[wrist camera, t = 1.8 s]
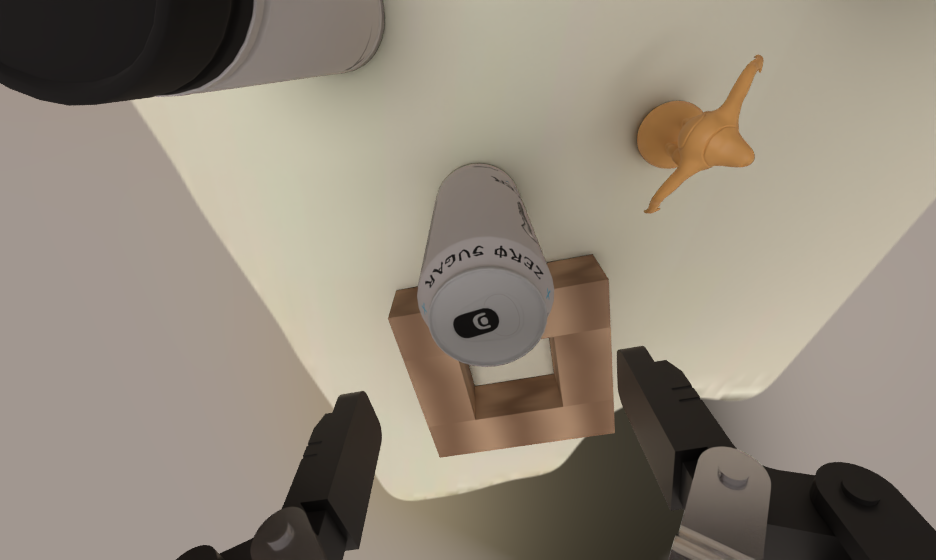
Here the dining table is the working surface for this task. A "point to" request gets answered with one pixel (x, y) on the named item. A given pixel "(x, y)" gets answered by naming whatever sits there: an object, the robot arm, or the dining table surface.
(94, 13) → the travel mug
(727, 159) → the figurine
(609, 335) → the wooden square frame
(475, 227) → the energy drink can
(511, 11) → the dining table surface
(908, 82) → the dining table surface
